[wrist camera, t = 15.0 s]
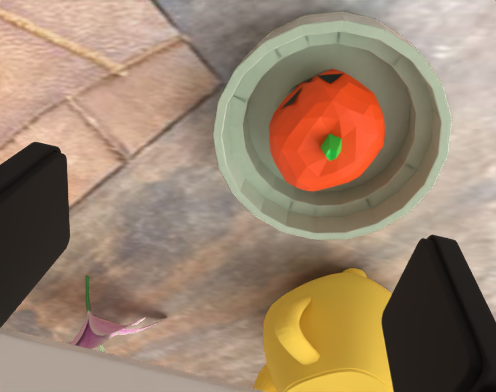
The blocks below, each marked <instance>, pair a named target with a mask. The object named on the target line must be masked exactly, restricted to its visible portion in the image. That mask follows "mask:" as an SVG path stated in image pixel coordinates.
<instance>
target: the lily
mask: <svg viewBox="0 0 496 392" xmlns="http://www.w3.org/2000/svg"><path fill="white" fill-rule="evenodd" d="M86 306H87V320H86V322H85V324H84V325H83V327H82V329H81V330H80V332H79V333H78V335H77V336H76V337H75V339H74V340H73V341H72V342H71V343H70V344H71V345H76V346H80V347H84V348H88V349H93V348H95V350H96V347H99V350H101V352H103V351H104V352H106V351H105V349H104V348H102V349H104V350H103V351H102V349H101V347H103V346H102V344H104V343H105V342H106V341H107V340H108V339H109V338H111V337H113V336H114V335H116V334H119V335H125V334H132V333H135V332H139V331H142V330H144V329H146V328H149V327H151V326H153V325H155V324H157V323H159V322H161V321H163V320H161V321H159V322H157V323H154V324H152V325H149V326H146V327H143V328H139V329H124V328H126V327H128V326H133V325H136V324H138V323H140V322H142V321H143V320H144V319H145V318H143V319H140V320H138V321H136V322H134V323H131V324H129V325H126V326H125V325H120V324H117V323H113V322H110V321H107V320H104V319H101V318H98V317H95V316H93V315H92V313H91V309H90V303H89V276H86ZM166 319H167V318H166ZM164 320H165V319H164ZM100 345H101V347H100Z"/></svg>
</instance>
